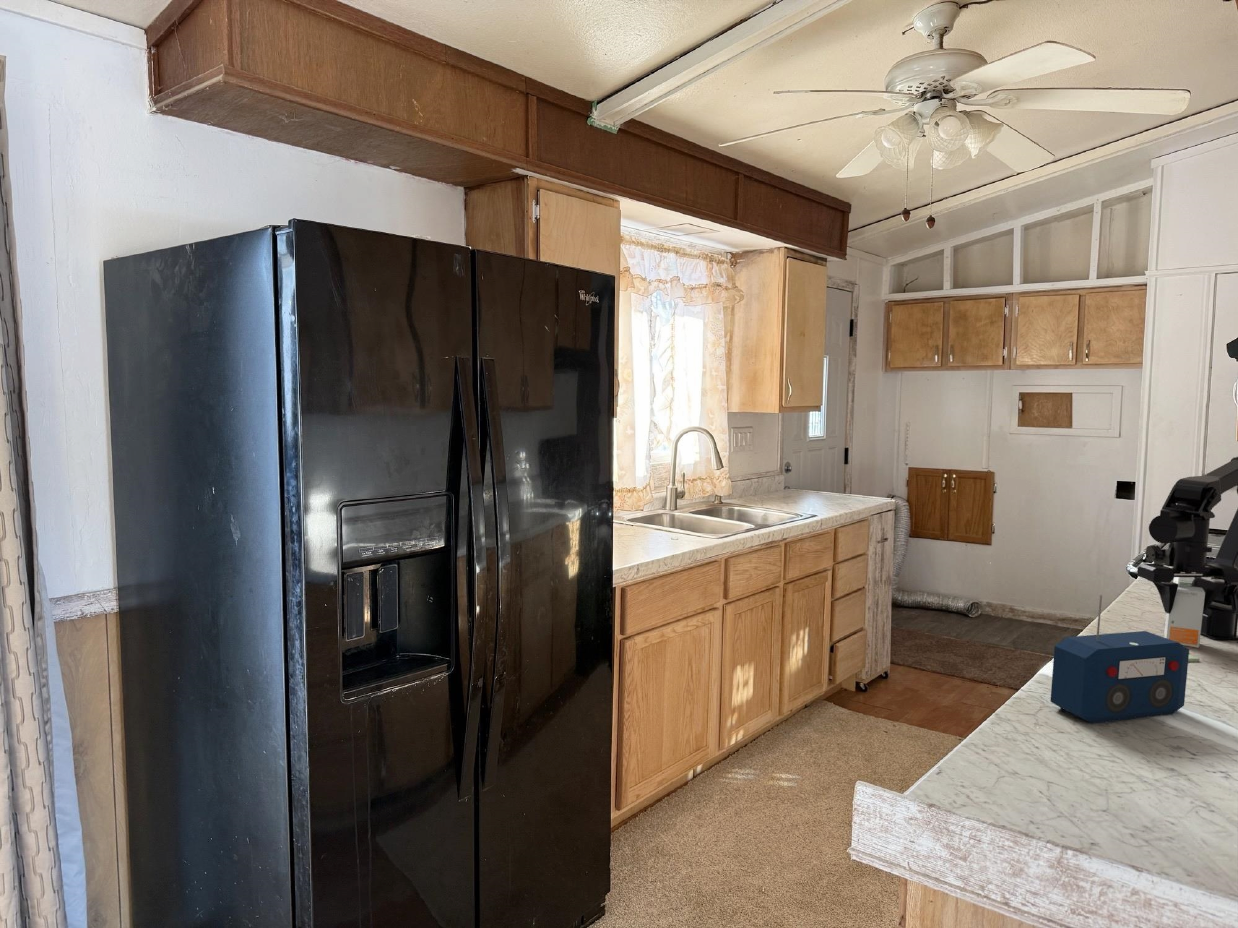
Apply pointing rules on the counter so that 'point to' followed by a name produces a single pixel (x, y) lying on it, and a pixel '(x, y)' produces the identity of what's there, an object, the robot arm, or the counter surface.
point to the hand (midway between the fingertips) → (1184, 613)
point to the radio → (1119, 675)
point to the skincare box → (1186, 616)
